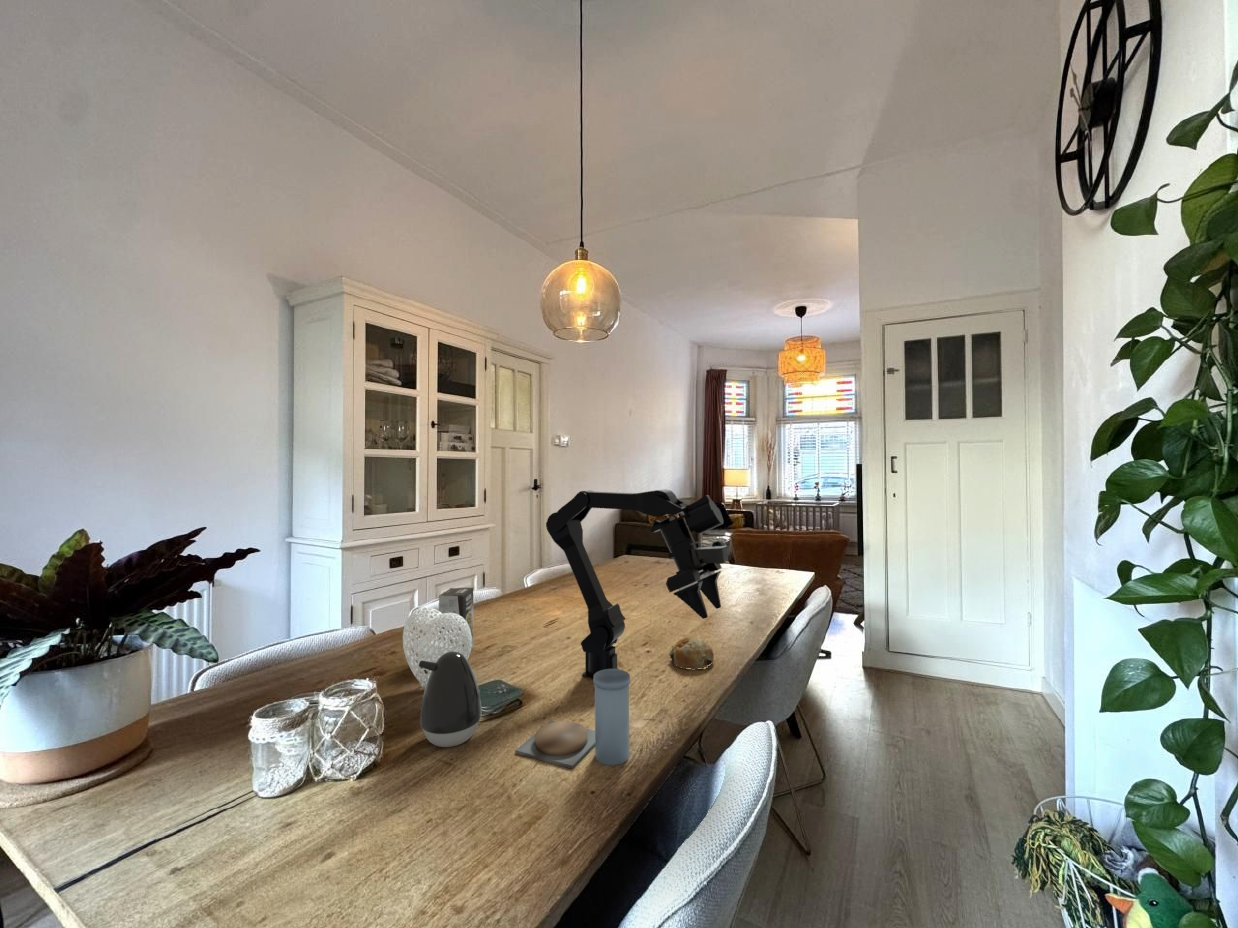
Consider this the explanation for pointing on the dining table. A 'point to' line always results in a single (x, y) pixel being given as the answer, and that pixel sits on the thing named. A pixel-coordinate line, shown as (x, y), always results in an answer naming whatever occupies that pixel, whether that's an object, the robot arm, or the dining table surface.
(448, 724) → the pump dispenser
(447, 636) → the decorative heart
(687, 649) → the brown domed lump
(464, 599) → the coffee box
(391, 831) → the dining table surface
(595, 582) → the robot arm
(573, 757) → the grey brown domed tile
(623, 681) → the canister
